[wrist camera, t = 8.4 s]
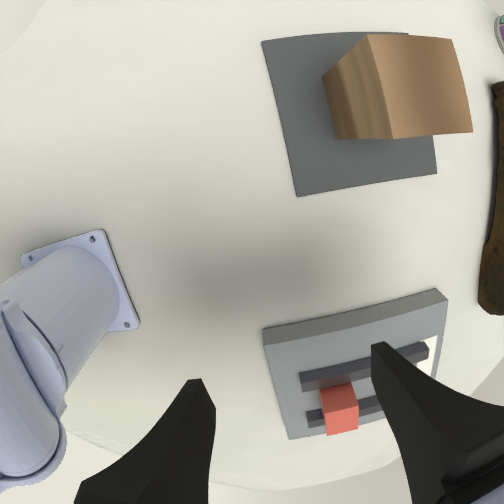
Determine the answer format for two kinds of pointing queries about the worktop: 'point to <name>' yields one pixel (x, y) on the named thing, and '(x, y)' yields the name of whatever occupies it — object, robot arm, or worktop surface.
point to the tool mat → (321, 125)
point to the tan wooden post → (397, 89)
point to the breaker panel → (349, 355)
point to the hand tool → (495, 232)
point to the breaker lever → (339, 408)
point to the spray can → (500, 31)
